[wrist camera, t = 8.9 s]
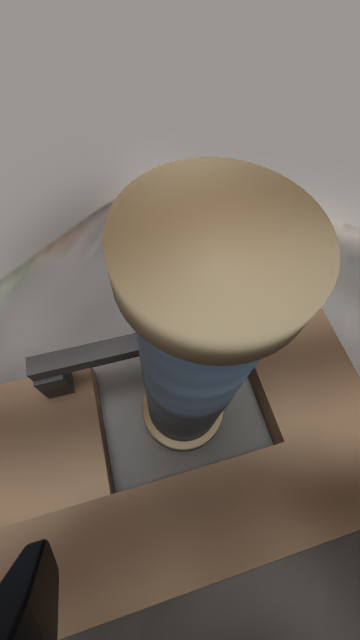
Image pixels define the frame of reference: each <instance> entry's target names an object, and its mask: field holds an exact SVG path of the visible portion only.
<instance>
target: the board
mask: <svg viewBox="0 0 360 640" xmlns="http://www.w3.org/2000/svg"><path fill="white" fill-rule="evenodd" d="M138 356H140V355H139V349H138V343H137V337H136V333H134V334H130V335H125V336H121V337H117V338H112V339H108V340H103V341H99V342H94V343H90V344H85V345H81V346H76V347H72V348H68V349H63V350H59V351H54V352H50V353H45V354H41V355H36V356H32V357H27V358H26V371H27V377H28V378H25V379H21V380H16V381H12V382H8V383H3V384H0V582H1V580H2V579H3V577H4V576H5V575H6V573H7V572H8V570H9V569H10V567H11V566H12V564H13V563H14V561H15V560H16V558H17V557H18V556H19V554H20V553H21V551H22V550H23V548H24V547H25V546H26V545H27V544H29V543H32V542H35V541H38V540H41V539H47V540H48V541H49V543H50V546H51V549H52V551H53V554H54V557H55V559H56V562H57V565H58V569H59V602H58V638H57V640H60V639H63V638H66V637H69V636H71V635H74V634H77V633H79V632H82V631H85V630H88V629H90V628H93V627H96V626H99V625H101V624H104V623H107V622H110V621H112V620H115V619H118V618H120V617H123V616H126V615H129V614H131V613H134V612H137V611H140V610H142V609H145V608H148V607H151V606H153V605H156V604H159V603H162V602H164V601H167V600H170V599H172V598H175V597H178V596H181V595H183V594H186V593H189V592H192V591H194V590H197V589H200V588H203V587H205V586H208V585H211V584H214V583H216V582H219V581H222V580H224V579H227V578H230V577H233V576H235V575H238V574H241V573H244V572H246V571H249V570H252V569H255V568H257V567H260V566H263V565H265V564H268V563H271V562H274V561H276V560H279V559H282V558H285V557H287V556H290V555H293V554H296V553H298V552H301V551H304V550H307V549H309V548H312V547H315V546H317V545H320V544H323V543H326V542H328V541H331V540H334V539H337V538H339V537H342V536H345V535H348V534H350V533H353V532H356V531H359V530H360V378H359V376H358V374H357V372H356V370H355V368H354V367H353V365H352V363H351V361H350V359H349V357H348V356H347V354H346V352H345V350H344V348H343V346H342V345H341V343H340V341H339V339H338V337H337V335H336V334H335V332H334V330H333V328H332V326H331V324H330V322H329V321H328V319H327V317H326V315H325V313H324V311H323V310H322V309H319V310H318V311H317V312H316V314H315V315H314V316H313V317H312V318H311V319H310V321H309V322H308V323H307V324H306V325H305V327H304V328H303V329H302V330H301V331H300V333H299V334H298V335H297V336H296V337H295V338H294V339H293V340H292V341H291V342H290V343H289V344H287V345H286V346H285V347H283V348H282V349H280V350H279V351H277V352H276V353H274V354H272V355H269V356H267V357H265V358H263V359H260V360H259V361H258V362H257V364H256V365H255V367H254V368H253V370H252V371H251V372H250V374H249V375H248V377H249V380H250V383H251V385H252V388H253V391H254V393H255V396H256V398H257V401H258V404H259V406H260V409H261V411H262V414H263V417H264V419H265V422H266V424H267V427H268V430H269V432H270V435H271V437H272V440H273V443H274V445H272V446H269V447H266V448H263V449H259V450H256V451H253V452H249V453H246V454H243V455H239V456H236V457H233V458H229V459H226V460H223V461H220V462H216V463H213V464H210V465H206V466H203V467H200V468H196V469H193V470H190V471H186V472H183V473H180V474H177V475H173V476H170V477H167V478H163V479H160V480H157V481H153V482H150V483H147V484H143V485H140V486H137V487H133V488H130V489H127V490H124V491H120V492H117V493H115V491H114V485H113V479H112V472H111V466H110V460H109V454H108V448H107V442H106V436H105V430H104V424H103V417H102V411H101V405H100V399H99V393H98V387H97V381H96V375H95V372H94V370H93V368H92V367H96V366H100V365H105V364H109V363H113V362H117V361H122V360H126V359H130V358H134V357H138Z"/></svg>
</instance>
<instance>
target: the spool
mask: <svg viewBox="0 0 360 640" xmlns="http://www.w3.org/2000/svg"><path fill="white" fill-rule="evenodd" d="M102 246H103V254H104V258H105V262H106V266H107V270H108V275H109V279H110V283H111V287H112V290H113V294H114V298H115V301H116V303H117V305H118V307H119V310H120V312H121V313H122V315H123V316H124V318H125V319H126V321H127V322H128V323H129V325H130V326H131V327H132V328H133V329H134V330H135V331H136V337H137V343H138V349H139V355H140V361H141V367H142V373H143V379H144V385H145V394H144V397H143V404H142V410H143V416H144V420H145V424H146V427H147V429H148V431H149V432H150V434H151V435H152V437H153V438H154V439H155V440H156V441H157V442H158V443H160V444H161V445H163V446H164V447H166V448H169V449H172V450H176V451H189V450H193V449H196V448H198V447H200V446H202V445H204V444H205V443H207V442H208V441H209V440H210V439H211V438H212V436H213V435H214V434H215V433H216V431H217V430H218V428H219V426H220V424H221V421H222V418H223V412H224V409H225V407H226V406H227V405H228V403H229V402H230V400H231V399H232V398H233V396H234V395H235V393H236V392H237V391H238V389H239V388H240V386H241V385H242V384H243V382H244V381H245V379H246V378H247V377H248V375H249V374H250V372H251V371H252V370H253V368H254V367H255V365H256V364H257V362H258V361H259V360H260V359H263V358H265V357H267V356H269V355H272V354H274V353H276V352H277V351H279V350H280V349H282V348H283V347H285V346H286V345H287V344H289V343H290V342H291V341H292V340H293V339H294V338H295V337H296V336H297V335H298V334H299V333H300V331H301V330H302V329H303V328H304V327H305V325H306V324H307V323H308V322H309V321H310V319H311V318H312V317H313V316H314V315H315V314H316V312H317V311H318V310H319V309H320V308H321V306H322V305H323V304H324V303H325V301H326V300H327V299H328V297H329V296H330V294H331V292H332V290H333V288H334V286H335V284H336V281H337V278H338V275H339V268H340V248H339V243H338V238H337V236H336V233H335V230H334V227H333V225H332V224H331V222H330V220H329V218H328V216H327V215H326V213H325V212H324V211H323V209H322V208H321V206H320V205H319V204H318V203H317V202H316V201H315V200H314V199H313V197H312V196H310V195H309V194H308V193H307V192H306V191H305V190H304V189H302V188H301V187H300V186H298V185H297V184H295V183H294V182H293V181H291V180H289V179H288V178H286V177H284V176H283V175H281V174H278V173H277V172H274V171H272V170H270V169H268V168H265V167H262V166H259V165H256V164H253V163H249V162H246V161H241V160H236V159H229V158H218V157H200V158H189V159H184V160H178V161H174V162H171V163H167V164H164V165H162V166H159V167H156V168H154V169H152V170H150V171H148V172H146V173H144V174H142V175H141V176H139V177H138V178H136V179H135V180H133V181H132V182H131V183H130V184H129V185H128V186H126V187H125V188H124V189H123V190H122V192H121V193H120V194H119V195H118V196H117V197H116V199H115V201H114V202H113V204H112V205H111V207H110V209H109V211H108V214H107V216H106V219H105V223H104V227H103V235H102Z"/></svg>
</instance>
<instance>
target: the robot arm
mask: <svg viewBox="0 0 360 640" xmlns="http://www.w3.org/2000/svg"><path fill="white" fill-rule="evenodd" d="M58 602H59V569H58V565H57V562H56V559H55V557H54V554H53V551H52V549H51V546H50V543H49V541H48V540H47V539H41V540H38V541H35V542H32V543H29V544H27V545H26V546H25V547H24V548H23V550H22V551H21V553H20V554H19V556H18V557H17V558H16V560H15V561H14V563H13V564H12V566H11V567H10V569H9V570H8V572H7V573H6V575H5V576H4V577H3V579H2V580H1V582H0V640H57V638H58Z"/></svg>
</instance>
